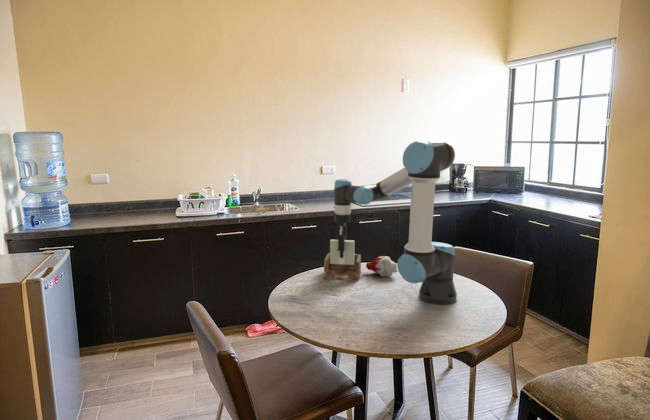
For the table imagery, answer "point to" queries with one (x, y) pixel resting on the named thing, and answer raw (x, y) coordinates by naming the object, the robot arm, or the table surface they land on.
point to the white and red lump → (382, 266)
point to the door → (348, 252)
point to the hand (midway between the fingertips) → (342, 262)
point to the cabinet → (342, 269)
